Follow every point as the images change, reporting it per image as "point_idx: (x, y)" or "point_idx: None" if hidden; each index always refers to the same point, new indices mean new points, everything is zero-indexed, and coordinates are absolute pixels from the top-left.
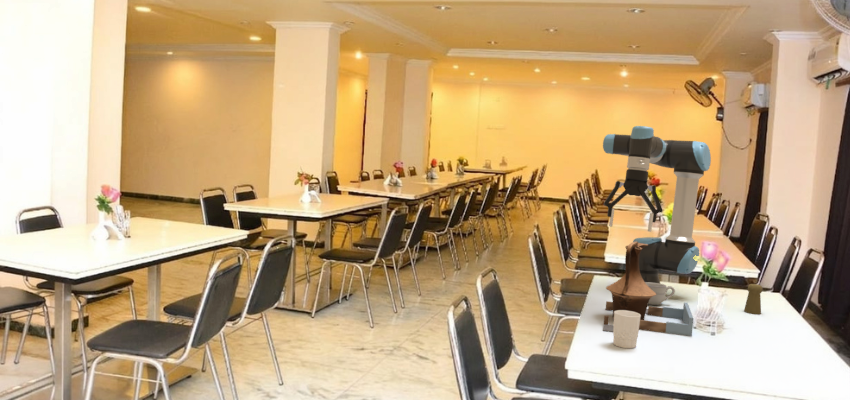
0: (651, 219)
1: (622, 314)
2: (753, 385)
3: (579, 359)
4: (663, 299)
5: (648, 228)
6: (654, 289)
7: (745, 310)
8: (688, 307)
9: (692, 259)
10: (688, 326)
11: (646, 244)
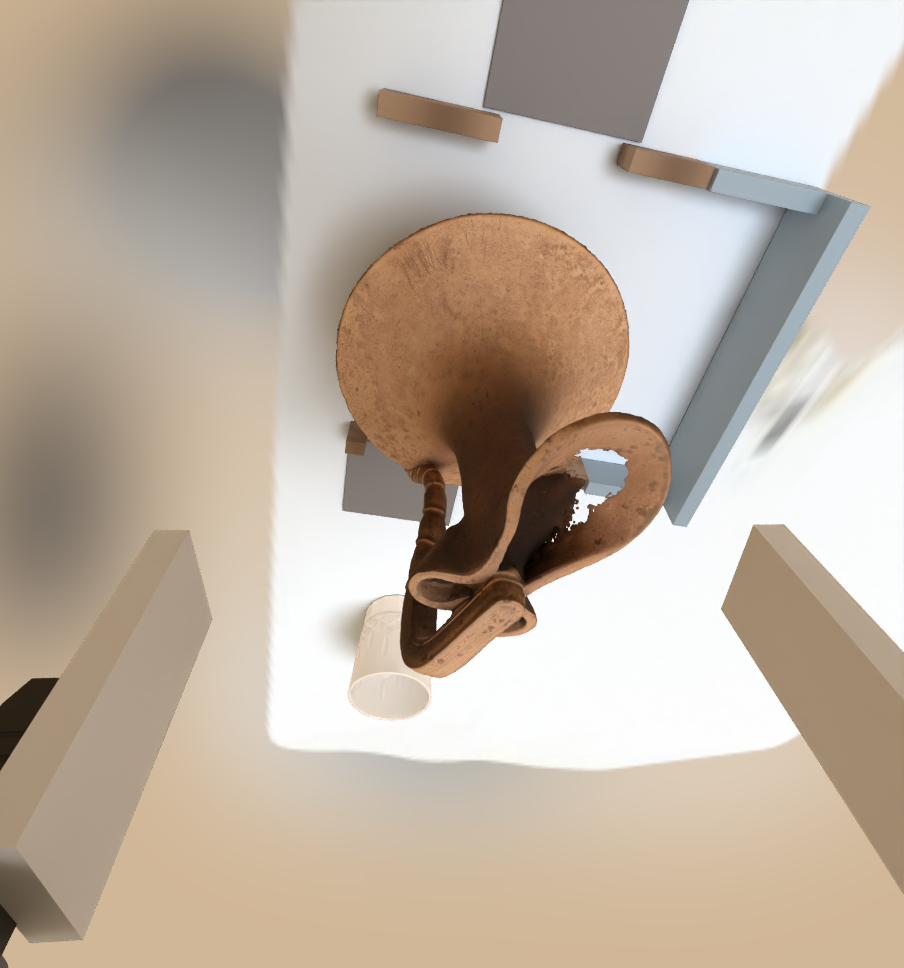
0: (834, 766)
1: (380, 663)
2: (612, 750)
3: (280, 712)
4: None
5: (763, 582)
6: None
7: None
8: (788, 342)
9: None
10: None
11: (630, 541)
